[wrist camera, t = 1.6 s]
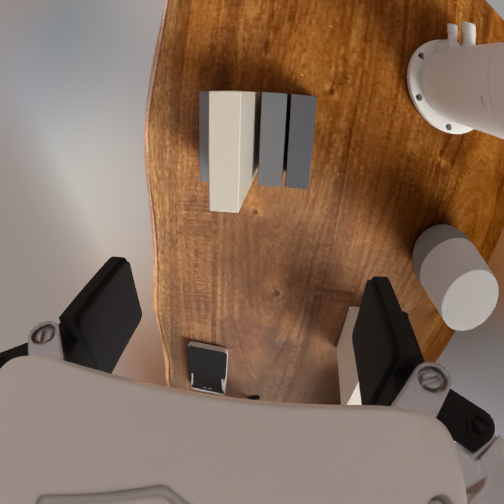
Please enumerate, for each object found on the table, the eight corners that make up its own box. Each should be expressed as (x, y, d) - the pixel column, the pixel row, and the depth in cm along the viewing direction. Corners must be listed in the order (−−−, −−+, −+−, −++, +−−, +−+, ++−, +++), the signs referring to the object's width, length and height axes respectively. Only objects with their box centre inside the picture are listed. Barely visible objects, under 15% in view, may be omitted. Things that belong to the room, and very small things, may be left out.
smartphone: (227, 352, 53) (224, 395, 60) (228, 347, 54) (225, 390, 61) (187, 344, 53) (190, 388, 61) (188, 339, 54) (192, 383, 62)
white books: (349, 306, 46) (360, 376, 34) (409, 309, 45) (433, 374, 33) (336, 348, 51) (341, 414, 39) (391, 349, 50) (405, 412, 38)
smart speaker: (457, 209, 35) (508, 261, 23) (462, 261, 39) (502, 319, 27) (401, 230, 38) (438, 291, 26) (411, 281, 42) (441, 346, 30)
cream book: (239, 91, 32) (208, 90, 20) (260, 92, 32) (241, 90, 20) (237, 169, 37) (209, 211, 25) (257, 170, 37) (238, 213, 25)
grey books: (213, 91, 32) (199, 91, 27) (312, 95, 31) (316, 96, 26) (213, 168, 37) (199, 181, 32) (306, 174, 36) (308, 189, 31)
